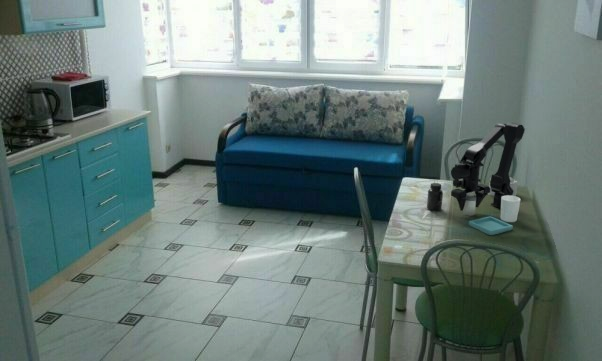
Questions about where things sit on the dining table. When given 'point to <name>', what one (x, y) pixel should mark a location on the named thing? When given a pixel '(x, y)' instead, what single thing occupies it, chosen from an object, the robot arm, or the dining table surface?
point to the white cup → (509, 208)
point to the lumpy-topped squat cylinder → (512, 184)
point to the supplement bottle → (435, 197)
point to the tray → (490, 225)
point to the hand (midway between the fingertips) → (469, 208)
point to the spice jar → (469, 205)
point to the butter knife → (425, 214)
